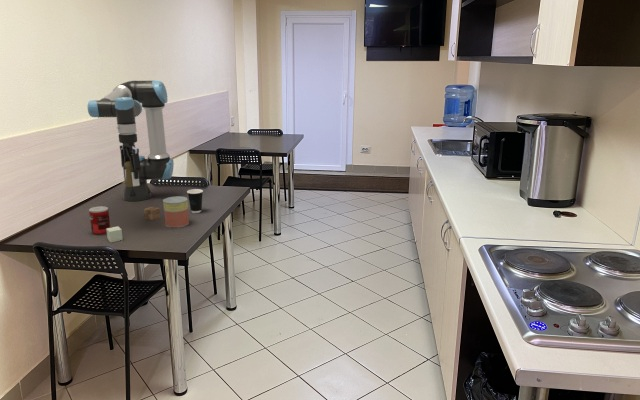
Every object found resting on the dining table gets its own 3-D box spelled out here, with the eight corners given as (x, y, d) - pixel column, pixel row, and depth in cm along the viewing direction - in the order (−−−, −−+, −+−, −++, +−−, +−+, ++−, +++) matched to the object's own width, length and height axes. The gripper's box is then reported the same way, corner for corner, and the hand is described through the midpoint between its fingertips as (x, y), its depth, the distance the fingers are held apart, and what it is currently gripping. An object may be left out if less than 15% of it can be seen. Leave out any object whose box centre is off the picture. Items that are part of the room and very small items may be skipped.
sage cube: (107, 239, 207) (106, 228, 206) (119, 237, 210) (118, 226, 209) (110, 242, 203) (109, 231, 202) (122, 240, 206) (121, 229, 205)
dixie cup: (189, 214, 241) (187, 193, 238) (187, 210, 248) (186, 189, 245) (205, 213, 244) (203, 192, 241) (203, 208, 251) (202, 188, 248)
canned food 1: (96, 228, 220) (93, 206, 216) (113, 229, 219) (111, 206, 216) (88, 234, 212) (85, 211, 209) (106, 234, 212) (103, 211, 209)
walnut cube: (145, 218, 234) (144, 209, 233) (153, 216, 239) (152, 206, 237) (152, 220, 232) (151, 210, 231) (160, 217, 236) (159, 208, 235)
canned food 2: (193, 221, 232) (191, 197, 228) (182, 228, 221) (180, 203, 218) (172, 219, 234) (170, 195, 231) (160, 226, 223) (157, 202, 220)
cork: (122, 186, 214) (120, 162, 211) (132, 183, 220) (129, 159, 217) (133, 187, 212) (130, 163, 209) (142, 184, 218) (140, 160, 215)
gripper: (109, 132, 213) (115, 182, 219) (129, 136, 201) (134, 189, 207) (125, 130, 218) (131, 179, 225) (146, 134, 206) (150, 186, 212)
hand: (132, 184), depth 216 cm, fingers closed on cork, 6 cm apart
